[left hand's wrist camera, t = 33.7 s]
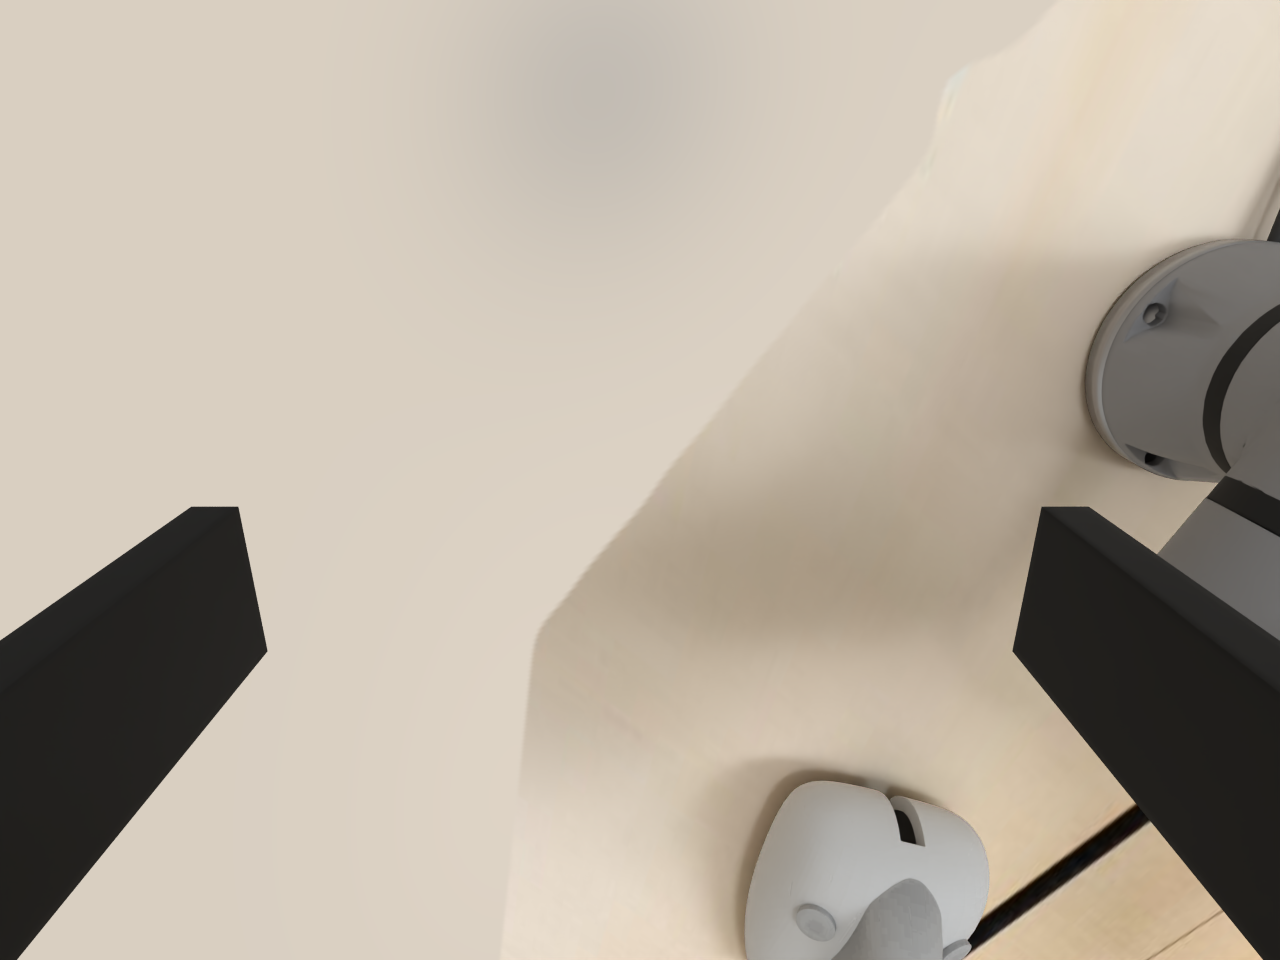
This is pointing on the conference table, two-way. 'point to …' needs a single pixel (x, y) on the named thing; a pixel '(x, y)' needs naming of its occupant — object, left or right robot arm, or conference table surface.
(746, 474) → the conference table surface
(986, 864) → the projector
